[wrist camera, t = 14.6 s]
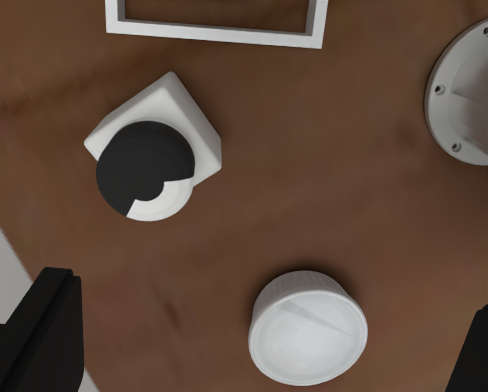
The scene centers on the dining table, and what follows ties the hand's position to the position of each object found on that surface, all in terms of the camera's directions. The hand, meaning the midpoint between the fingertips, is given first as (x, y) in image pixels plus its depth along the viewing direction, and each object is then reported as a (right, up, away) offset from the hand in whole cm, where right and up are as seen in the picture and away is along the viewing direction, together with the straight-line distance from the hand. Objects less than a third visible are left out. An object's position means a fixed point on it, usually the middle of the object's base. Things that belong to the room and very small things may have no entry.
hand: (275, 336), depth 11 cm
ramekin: (+5, -8, +37) cm, 38 cm away
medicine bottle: (-8, +9, +28) cm, 31 cm away
